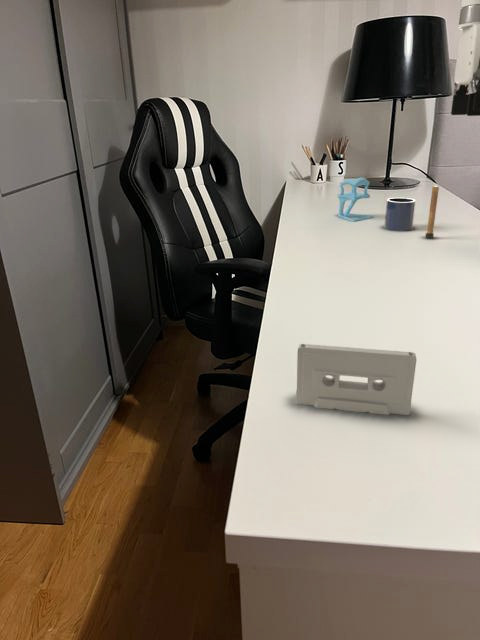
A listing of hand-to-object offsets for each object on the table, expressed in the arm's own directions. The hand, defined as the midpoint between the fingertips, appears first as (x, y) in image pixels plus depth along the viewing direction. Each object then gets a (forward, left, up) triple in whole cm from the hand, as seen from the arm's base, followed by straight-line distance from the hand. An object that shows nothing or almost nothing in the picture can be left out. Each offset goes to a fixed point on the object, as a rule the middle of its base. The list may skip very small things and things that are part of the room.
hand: (466, 115), depth 102 cm
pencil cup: (+7, -19, -28) cm, 35 cm away
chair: (+17, -34, -28) cm, 48 cm away
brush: (+2, -8, -28) cm, 29 cm away
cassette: (+30, +67, -28) cm, 79 cm away
